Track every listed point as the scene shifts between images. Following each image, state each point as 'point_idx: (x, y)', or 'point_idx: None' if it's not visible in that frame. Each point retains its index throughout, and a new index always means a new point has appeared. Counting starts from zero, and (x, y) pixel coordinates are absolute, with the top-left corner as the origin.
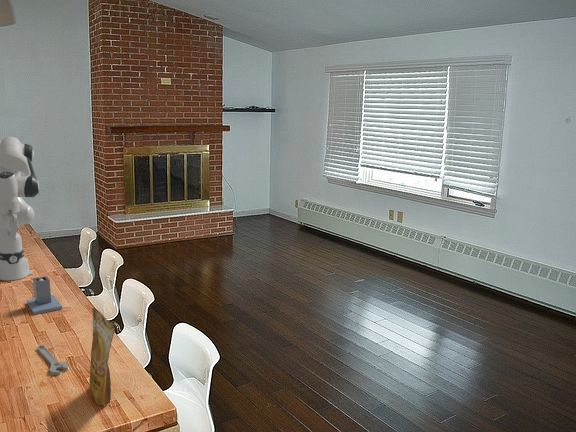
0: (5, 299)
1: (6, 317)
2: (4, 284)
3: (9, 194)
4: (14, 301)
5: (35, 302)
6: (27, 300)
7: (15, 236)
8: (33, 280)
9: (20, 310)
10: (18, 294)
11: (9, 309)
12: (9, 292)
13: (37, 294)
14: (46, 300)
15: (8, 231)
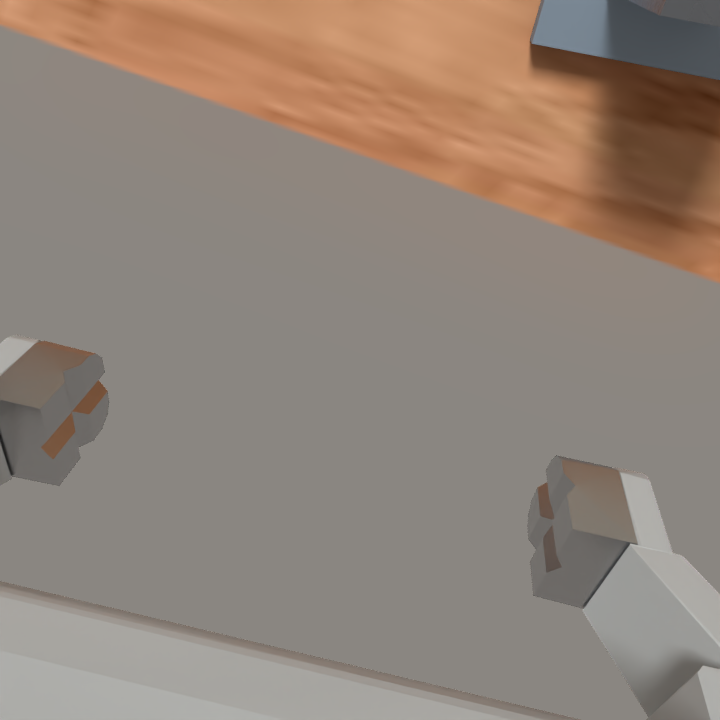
0: (338, 139)
1: (667, 251)
2: (5, 26)
3: None
4: (422, 104)
5: None
6: (547, 42)
7: (668, 549)
8: (694, 20)
9: (633, 138)
10: (291, 20)
11: (548, 188)
12: (207, 62)
13: None
14: None
15: (5, 464)
